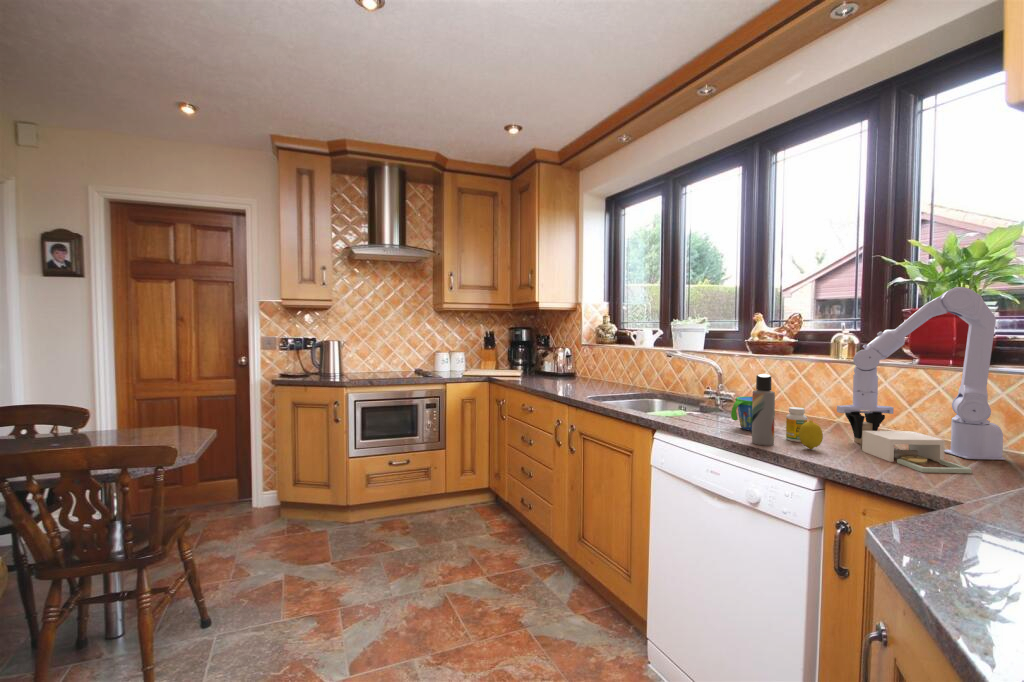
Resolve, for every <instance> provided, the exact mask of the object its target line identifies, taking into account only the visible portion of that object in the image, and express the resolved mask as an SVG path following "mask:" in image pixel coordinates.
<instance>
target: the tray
mask: <svg viewBox="0 0 1024 682" xmlns="http://www.w3.org/2000/svg"><path fill="white" fill-rule="evenodd" d="M896 463H897V464H900V465H902V466H903V467H908V468H909V469H913V470H915V471H918V472H919V473H920V472H921V473H933V474H934V473H937V474H938V473H940V474H942V473H943V474H972V473H973V469H972V468H970V467H967V466H964V465H961V464H957V463H955V462H951V461H949V460H947V459H946V460H945V459H944V460H940V461H939V462H938V464H940V465H943V466H945V467H943V466H941V467H933V466H929V467H928V466H926V467H925V466H922V465H920V464H914V463H911V462H908V461H905V460H902V459H901V458H896Z"/></svg>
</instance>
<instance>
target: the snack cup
mask: <svg viewBox="0 0 1024 682" xmlns="http://www.w3.org/2000/svg"><path fill="white" fill-rule="evenodd" d="M752 397H753V396H737V397H736V398H735V402H734V404H733V405H732V407H731V412H730V416H731V419H732V420H733V421H738V419H739V426H740V427H741V429H743V430H745V431H746V430H747V431H751V432H752ZM737 410H738V411H737ZM737 412H738V413H737Z"/></svg>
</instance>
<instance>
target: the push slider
mask: <svg viewBox="0 0 1024 682" xmlns="http://www.w3.org/2000/svg"><path fill="white" fill-rule="evenodd" d="M872 425H873V424H872V423H869V422H866V421H864V422H863V426H862V437H863V431H872ZM853 438H854V440H853V441H854V443H856V444H859V445H862V438H861V439H858V438H855V437H853ZM904 454H909V455H917V456H919V455H918V451H917V450H909V449H898V448H895V447H894V459H901V455H904Z"/></svg>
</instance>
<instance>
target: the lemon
mask: <svg viewBox="0 0 1024 682" xmlns="http://www.w3.org/2000/svg"><path fill="white" fill-rule="evenodd" d="M799 438H800V441H801V442H800V443H801V444H802V445H803V446H804V447H806V448H808V449H809V450H810V449H811V450H813V449H814V448H817V447H819V446H820V445H821V444H822V442H823V439H824V434H823V430H822V427H821V426H820V425H819V424H818V423H816V422H814V421H813V420H808V421H807V422H806V423H804V424H803V425H802V426H801V427H800V430H799Z"/></svg>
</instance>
